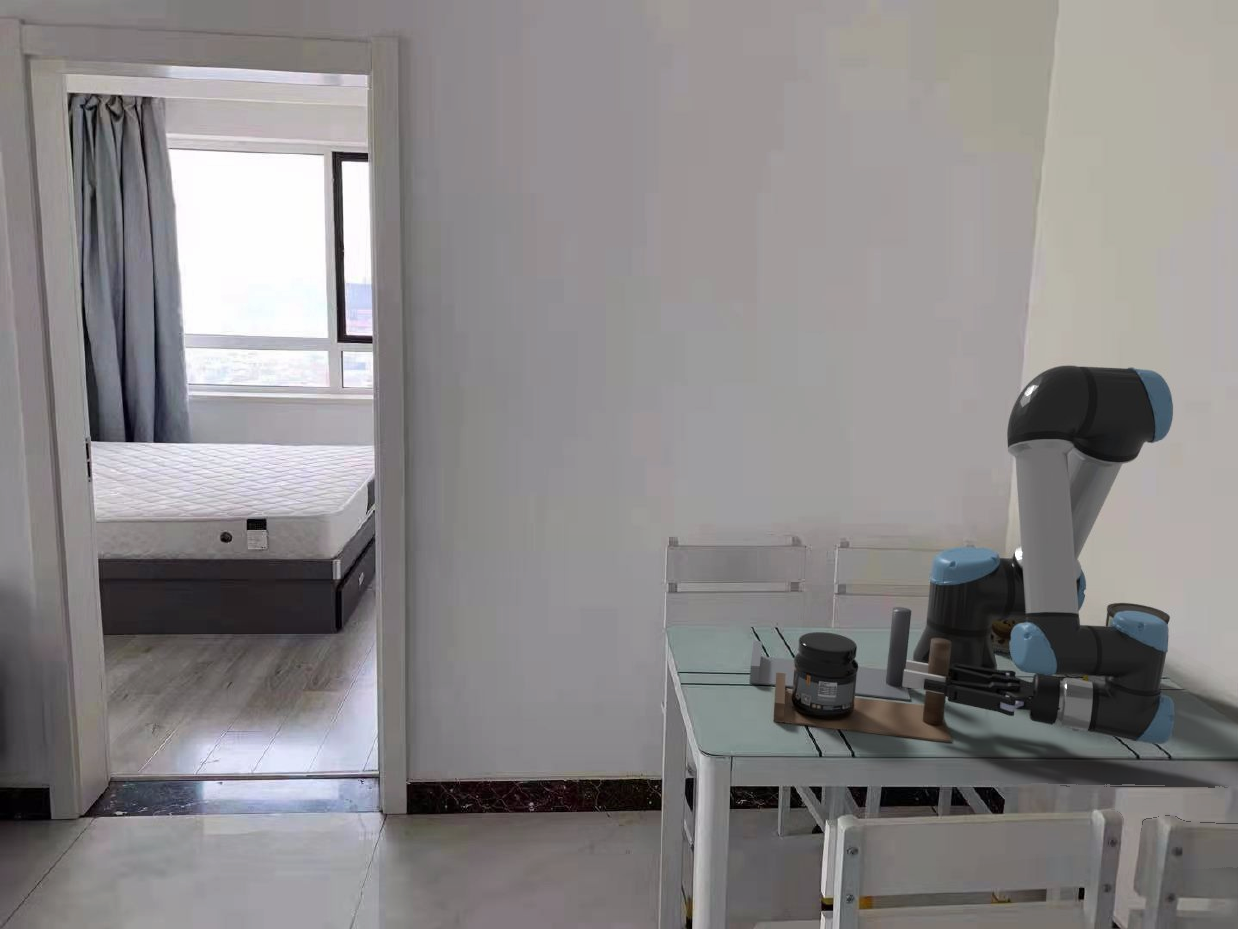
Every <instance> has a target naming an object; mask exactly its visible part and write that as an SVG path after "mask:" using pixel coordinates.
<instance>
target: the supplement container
mask: <svg viewBox="0 0 1238 929" xmlns="http://www.w3.org/2000/svg"><path fill="white" fill-rule="evenodd" d="M797 644H798V646H797V647H798V648H797V651H798V652H797V653H796V654H795V655H794V658H793V660H794V664H795V665H794V678H793V688H792V697H791V700H792V704H793V706H794V707H795V709H796V710H798V711H799V712H800V713H802V714H804V715H806V716H809V717H812V718H815V719H820V720H839V719H843V718H846V717H848V716H849V715H850V714H851V713H852V712H853V710H854V705H855V704H854V700H855V698H856V695H855V689H856V678H857V671H858V667H859V663H858V661H857V660H856V658H857V652H858V651H857V650H858V646H857V643H856V642H855V641H854V640H852V638H849V637H847V636H844V635H841V634H838V633H832V632H823V631H819V632H817V631H814V632H807V633H805V634H802V635H800V637H799V638H798V643H797Z"/></svg>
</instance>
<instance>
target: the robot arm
mask: <svg viewBox="0 0 1238 929" xmlns="http://www.w3.org/2000/svg"><path fill="white" fill-rule="evenodd" d="M1173 419H1174V404H1173V397H1172V393H1171V389H1170V387H1169V384H1168V383H1167V381H1166V380H1165V378H1164V377H1163V376H1162V375H1161V374H1160V373H1158V372H1156V371H1154V370H1149V369H1141V368H1135V367H1130V366H1129V367H1127V368H1120V367H1103V366H1100V367H1099V366H1098V367H1097V366H1077V365H1059V366H1055V367H1051V368H1049V369H1047V370H1045V371H1042V372H1040V373H1039V374H1038V375H1036V376H1035V377H1034V378H1032V379H1031V380H1030V381H1029V382H1028V383H1027V385H1025V387H1024V388H1022V390H1021V392H1020V393H1019V395H1018V396H1017V398H1016V400H1015V402H1014V404H1013V407H1012V410H1011V412H1010V415H1009V419H1008V425H1007V430H1006V438H1007V451H1008V453H1009V454H1011V455H1012V456H1013V457H1014V459H1015V471H1016V472H1015V473H1016V487H1017V488H1016V489H1017V490H1016V491H1017V503H1018V505H1017V506H1018V517H1019V518H1018V520H1019V533H1020V543H1019V544H1017V547H1016V548H1015V551H1014V553H1013V555H1012V557H1010V558H1008V557H1007V558H1006V557H1005V558H1004V557H1000V554H999V553H998V552H997V551H994V550H993V549H990V548H986V547H985V548H984V547H976V546H961V547H959V546H958V547H953V548H948V549H946V550H942V551H941V552H939V553H937V554H936V555H935V557H934V559H933V562H932V566H931V573H930V574H929V580H930V582H929V593H928V601H927V602H928V603H927V611H926V612H927V613H926V622H925V627H924V629H923V632H922V634H921V636H920V638H919V640H918V642H917V644H916V646H915V648H914V651H913V656H912V660H909V659H907V660H906V669H904V674H903V683H902V686H903V687H907V689H908V688H909V689H915V690H918V691H919V690H920V691H924V692H926V691H930V692H935V693H940V694H944V695H945V696H946V697H947V701H948V702H951V703H955V704H958V705H959V704H960V705H963V706H969V707H974V708H978V709H983V710H988V711H991V712H992V711H993V712H997V713H1000V714H1002V715H1006V716H1009V717H1014V716H1015V711H1016V710H1020V711H1022V710H1023V711H1029V713H1028V714H1029V719H1030V720H1031V721H1033V722H1037V723H1041V724H1042V723H1043V724H1047V725H1054V724H1056V722H1058V724H1059V726H1061V727H1065V728H1068V729H1069V728H1070V729H1072V731H1074V732H1079V730H1080V731H1087V732H1091V733H1097V734H1101V735H1106V736H1111V737H1116V738H1120V739H1126V740H1130V741H1133V742H1136V743H1137V742H1138V743H1139V742H1140V743H1146V744H1155V745H1163V744H1166V743H1167V742H1168V741H1170V739H1171V737H1172V734H1173V731H1174V724H1175V720H1174V718H1175V704H1174V700H1173V699H1172V698H1171V696H1169V695H1165V694H1163V693H1162V691H1161V683H1162V678H1163V672H1164V667H1165V662H1166V656H1167V653H1168V651H1169V650H1168V649H1169V624H1168V625H1167V624H1166V622H1165V621H1163V620H1162V619H1160V618H1158V617H1156V616H1154V615H1151V614H1148V613H1143V612H1138V611H1123V612H1118V613H1116V614H1115V615H1114V618H1113V621H1112V622H1111V625H1112V626H1105V625H1089V624H1088V625H1086V624H1085V625H1084V624H1081V622H1080V621H1081V620H1080V613H1079V612H1080V610H1081V608H1082V606H1083V604H1084V602H1085V598H1086V594H1085V590H1087V580H1086V576H1085V573H1084V571H1083V569H1082V565H1081V562H1080V561H1079V556H1080V555H1081V552H1082V550H1083V548H1084V547H1085V544H1086V542H1087V540H1088V538H1089V535H1090V533H1091V531H1092V529H1093V527H1094V525H1095V523H1096V521H1097V519H1098V516H1099V515H1100V512H1101V510H1102V507H1103V506H1104V504H1105V502H1106V500H1107V497H1108V496H1109V493H1110V491H1111V489H1112V487H1113V484H1114V483H1115V481H1116V479H1117V476H1118V474H1119V473H1120V470H1121V468H1122V466H1123V464H1128V463H1131V462H1133V461H1134V460H1136V459H1137V458H1138V456H1139V454H1140V452H1141V450H1142V448H1143V446H1144V444H1145V443H1150V444H1154V443H1156V442H1159V441H1162V440H1164V439H1165V438H1166V437H1167V435H1168V433H1169V432H1170V429H1171V427H1172V423H1173ZM992 620H1011V621H1026V622H1025V623H1019V624H1017V625H1015V626H1014V628H1013V629H1012V632H1011V640H1010V642H1009V645H1010V653H1009V654H1010V657H1011V660H1012V662H1013V663H1014V665H1015V667H1016V669H1018V670H1019V671H1021V672H1024V673H1026V674H1034V675H1033V677H1032V681H1030V682H1029V681H1028V680H1024V679H1021V678H1019V677H1016V675H1017V674H1016V673H1017V672H1016V671H1014V670H1007V669H1006V670H1004V669H998V664H997V659H996V655H995V651H994V650H993V645H992V641H991V627H992ZM933 638H942V639H946V640H949V641H951V653H950V662H949V671H948V676H946V677H944V676H939V675H933V674H928V663H929V654H930V644H931V639H933ZM1058 675H1064V676H1083V675H1088V676H1105V684H1098V683H1093V682H1088V681H1083V679H1077V678H1071V677H1064V678H1063V679H1062V680H1061V679H1060V677H1058ZM945 680H946V682H945Z"/></svg>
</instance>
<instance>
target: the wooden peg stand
mask: <svg viewBox="0 0 1238 929" xmlns="http://www.w3.org/2000/svg"><path fill="white" fill-rule="evenodd" d="M950 653H951V641H949V640H946V639H942V638H933V639H931V644H930V654H929V663H928V674H933V675H939V676H944V677H946V676H948V671H949V662H950ZM785 675H786V674H785V673H776V685H775V686H774V705H773V718H774V719H773V721H775V722H776V723H782V722H785V723H784V724H790V723H791V724H792V725H799V724H803V725H802V726H806V727H807V726H809V727H818V728H824V729H825V728H826V729H832V730H833V729H834V730H842V731H850V732H851V731H852V732H860V733H867V734H876V735H882V736H884V735H886V736H891V737H892V736H893V737H900V738H901V737H902V738H911V739H919V740H925V741H926V740H927V741H935V742H944V743H952V738H951V735H950V732H949V731H948V727H947V723H946V722H945V718H944V716H945V708H946V697H947V696H945V695H944V694H940V693H935V692H930V691H924V692H925V693H924V694H925V696H924V701H923V704H915V703H907V702H897V701H890V700H889V701H888V700H880V699H872V698H863V697H855V700H854V704H855V705H854V710H853V712H852V713H851V714H850V715H849V716H848V717H846V718H843V719H839V720H820V719H815V718H812V717H809V716H806V715H804V714H802V713H800V712H799V711H798V710H796V709H795V707H794V706H793V704H792V700H791V697H792V691H793V689H790V690H789V689H786V687H785ZM945 682H946V680H945ZM775 722H774V723H775Z"/></svg>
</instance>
